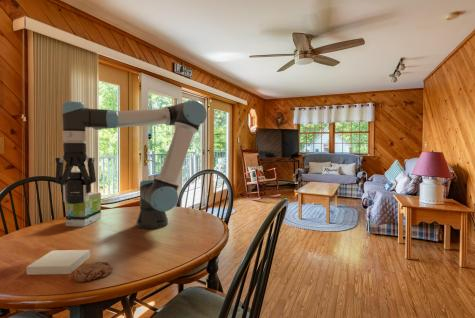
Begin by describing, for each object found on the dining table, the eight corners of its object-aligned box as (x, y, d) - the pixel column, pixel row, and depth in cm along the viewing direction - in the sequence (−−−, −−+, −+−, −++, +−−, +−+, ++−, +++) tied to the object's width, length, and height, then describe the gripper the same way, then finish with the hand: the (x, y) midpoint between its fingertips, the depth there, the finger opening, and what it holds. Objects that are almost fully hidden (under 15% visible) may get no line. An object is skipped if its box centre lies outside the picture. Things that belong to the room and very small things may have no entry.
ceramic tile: (90, 256, 98) (89, 249, 98) (69, 273, 85) (69, 266, 85) (52, 257, 97) (52, 250, 97) (26, 274, 84) (26, 266, 84)
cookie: (66, 280, 81) (66, 270, 81) (95, 265, 91) (95, 256, 91) (91, 286, 78) (90, 276, 78) (118, 270, 88) (118, 261, 88)
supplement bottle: (71, 205, 101) (70, 173, 100) (62, 202, 105) (61, 172, 104) (90, 201, 107) (89, 171, 106) (80, 199, 110) (79, 170, 110)
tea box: (85, 227, 132) (84, 197, 131) (65, 226, 132) (64, 196, 131) (101, 218, 147) (101, 191, 146) (83, 218, 147) (82, 191, 146)
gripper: (41, 142, 100) (44, 203, 101) (96, 142, 101) (98, 203, 102) (54, 142, 107) (56, 199, 109) (105, 142, 109) (106, 198, 110)
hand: (76, 200), depth 106 cm, fingers closed on supplement bottle, 7 cm apart
